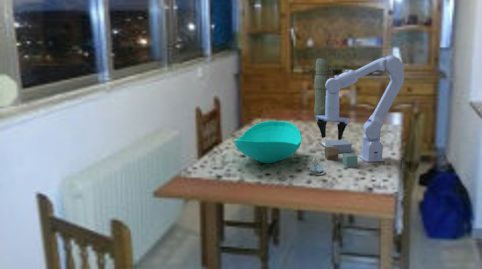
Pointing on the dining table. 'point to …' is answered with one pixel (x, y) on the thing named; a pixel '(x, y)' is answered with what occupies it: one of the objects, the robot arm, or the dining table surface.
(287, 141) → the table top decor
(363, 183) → the dining table surface
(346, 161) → the green block
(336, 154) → the walnut block
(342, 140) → the slate base block
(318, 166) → the pacifier
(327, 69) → the thermos
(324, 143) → the card
